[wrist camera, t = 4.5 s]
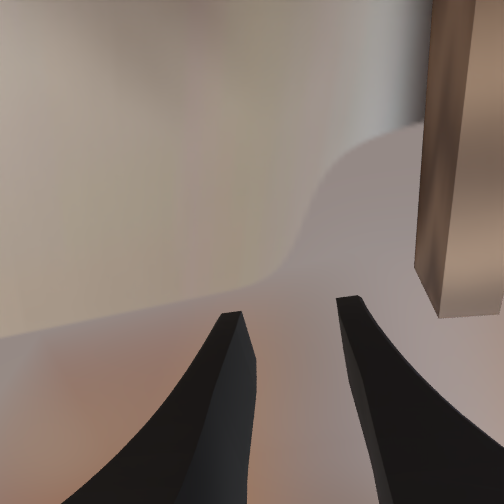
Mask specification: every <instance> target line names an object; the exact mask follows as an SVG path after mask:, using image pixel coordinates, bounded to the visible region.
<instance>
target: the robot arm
mask: <svg viewBox="0 0 504 504" xmlns="http://www.w3.org/2000/svg"><path fill="white" fill-rule="evenodd" d="M336 301H337V308H338V316H339V323H340V330H341V336H342V343H343V350H344V355H345V362H346V368H347V373H348V379H349V384H350V388H351V391H352V395H353V398H354V402H355V406H356V409H357V412H358V416H359V420H360V424H361V427H362V431H363V434H364V438H365V441H366V445H367V449H368V452H369V456H370V460H371V464H372V469H373V473H374V478H375V484H376V489H377V494H378V500H379V504H504V447H503V446H501V445H500V444H498V443H497V442H496V441H495V440H493V439H492V438H491V437H490V436H488V435H487V434H486V433H485V432H483V431H482V430H481V429H480V428H478V427H477V426H476V425H475V424H473V423H472V422H471V421H470V420H468V419H467V418H466V417H465V416H463V415H462V414H461V413H460V412H459V411H458V410H457V409H455V408H454V407H453V406H452V405H451V404H450V403H449V402H448V401H446V400H445V399H444V398H443V397H442V396H441V395H440V394H439V393H438V392H437V391H436V390H435V389H434V388H433V387H432V386H431V385H429V383H428V382H427V381H426V380H425V379H424V378H422V376H421V375H420V374H419V373H418V372H417V371H416V370H415V369H414V368H413V367H412V366H411V365H410V363H408V361H407V360H406V359H405V358H404V357H403V356H402V355H401V353H400V352H399V351H398V350H397V349H396V347H395V346H394V345H393V344H392V343H391V341H390V340H389V339H388V337H387V336H386V335H385V333H384V332H383V331H382V329H381V328H380V327H379V326H378V324H377V323H376V321H375V320H374V318H373V317H372V315H371V313H370V312H369V310H368V309H367V307H366V305H365V303H364V301H363V299H362V298H361V297H360V296H358V295H356V296H348V297H341V298H336ZM256 378H257V377H256V357H255V354H254V350H253V347H252V344H251V341H250V337H249V334H248V331H247V327H246V324H245V321H244V317H243V314H242V312H241V311H237V312H229V313H222V314H221V315H220V317H219V318H218V320H217V322H216V323H215V325H214V327H213V329H212V330H211V332H210V334H209V335H208V337H207V339H206V341H205V342H204V344H203V346H202V347H201V349H200V350H199V352H198V354H197V355H196V357H195V359H194V360H193V361H192V363H191V365H190V366H189V368H188V369H187V371H186V372H185V374H184V375H183V377H182V378H181V379H180V381H179V382H178V384H177V385H176V386H175V388H174V390H173V391H172V392H171V393H170V395H169V396H168V397H167V399H166V400H165V401H164V402H163V404H162V405H161V406H160V408H159V409H158V410H157V411H156V412H155V414H154V415H153V416H152V417H151V418H150V420H149V421H148V422H147V423H146V424H145V425H144V426H143V428H142V429H141V430H140V431H139V432H138V433H137V434H136V435H135V436H134V437H133V438H132V439H131V440H130V441H129V443H128V444H127V445H126V446H125V447H124V448H123V449H122V450H121V451H120V452H119V453H118V454H117V455H116V456H115V457H114V458H113V459H112V460H111V461H110V462H109V463H108V464H106V466H104V467H103V468H102V469H101V470H100V471H99V472H98V473H97V474H96V475H94V476H93V477H92V478H91V479H90V480H89V481H88V482H87V483H86V484H84V485H83V486H82V487H81V488H80V489H79V490H77V491H76V492H75V493H74V494H73V495H71V496H70V497H69V498H68V499H66V500H65V501H64V502H63V503H61V504H247V476H248V464H249V455H250V446H251V437H252V428H253V419H254V410H255V400H256V380H257V379H256Z"/></svg>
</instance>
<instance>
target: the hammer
mask: <svg viewBox="0 0 504 504" xmlns="http://www.w3.org/2000/svg"><path fill="white" fill-rule="evenodd" d="M421 160H422V161H421V173H420V174H421V175H420V189H419V202H418V217H417V232H416V246H415V261H414V268H415V270H416V272H417V274H418V277H419V279H420V280H421V283H422V285H423V287H424V289H425V291H426V293H427V295H428V297H429V299H430V301H431V303H432V305H433V308H434V310H435V312H436V314H437V316H438V318H455V317H469V316H483V315H497V314H499V313H500V308H501V304H502V299H503V295H504V0H433V4H432V19H431V33H430V48H429V62H428V77H427V91H426V105H425V120H424V131H423V144H422V159H421Z"/></svg>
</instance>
